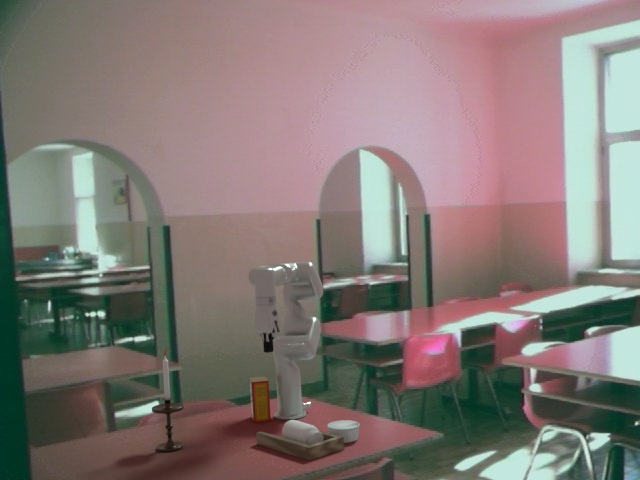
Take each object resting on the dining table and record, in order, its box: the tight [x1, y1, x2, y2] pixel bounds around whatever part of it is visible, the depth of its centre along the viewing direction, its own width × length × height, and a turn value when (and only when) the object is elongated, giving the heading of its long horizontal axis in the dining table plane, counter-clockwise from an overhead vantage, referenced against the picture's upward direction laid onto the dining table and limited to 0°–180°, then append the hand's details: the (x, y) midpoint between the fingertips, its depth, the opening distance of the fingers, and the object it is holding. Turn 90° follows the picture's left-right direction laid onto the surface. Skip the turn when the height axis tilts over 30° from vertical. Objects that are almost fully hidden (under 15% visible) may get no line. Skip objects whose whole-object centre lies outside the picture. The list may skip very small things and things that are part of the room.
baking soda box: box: [248, 376, 272, 424], centre depth 278 cm, size 10×6×16 cm
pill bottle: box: [281, 419, 323, 445], centre depth 239 cm, size 8×8×15 cm
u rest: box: [255, 430, 345, 461], centre depth 239 cm, size 15×28×4 cm, turn 42°
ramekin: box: [326, 419, 361, 444], centre depth 245 cm, size 11×11×5 cm
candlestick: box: [151, 347, 185, 453], centre depth 246 cm, size 11×11×35 cm
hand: (268, 351), depth 259 cm, fingers closed
